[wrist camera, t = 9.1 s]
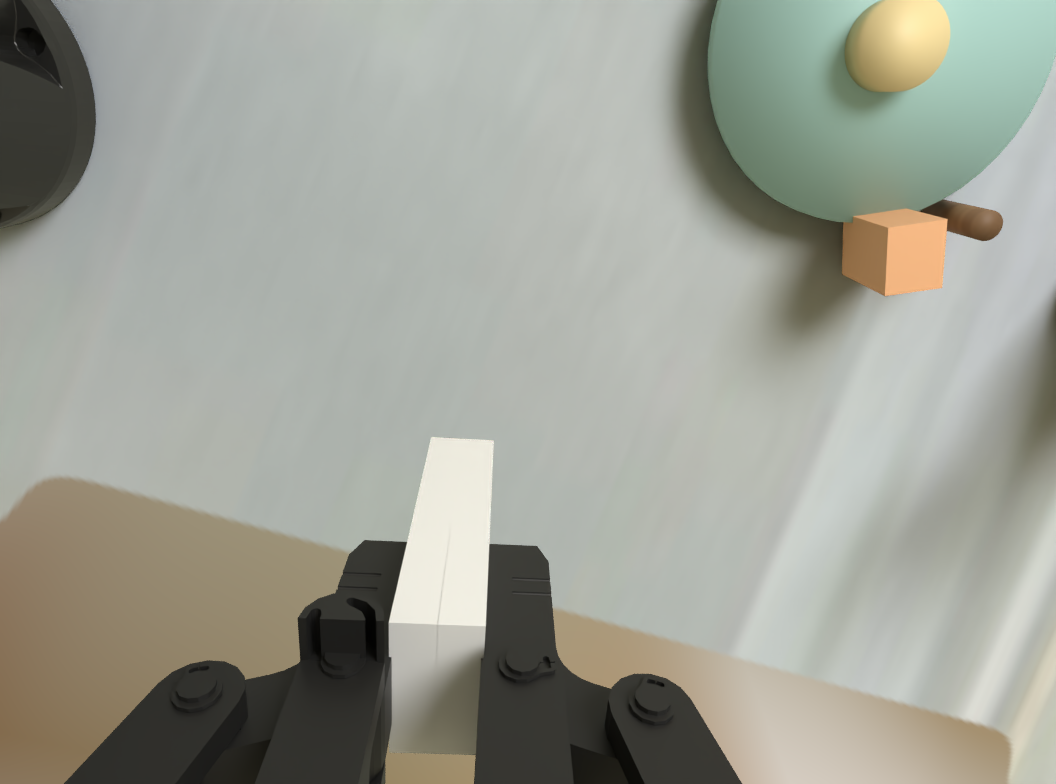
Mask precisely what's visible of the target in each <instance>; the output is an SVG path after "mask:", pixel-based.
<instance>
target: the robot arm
mask: <svg viewBox="0 0 1056 784" xmlns="http://www.w3.org/2000/svg"><path fill="white" fill-rule="evenodd" d="M95 125H96V112H95V100H94V93H93V88H92V83H91V79H90V75H89V72H88V68H87V65H86V63H85V60H84V57H83V55H82V52H81V50H80V47H79V45H78V43H77V41H76V39H75V37H74V35H73V33H72V32H71V30H70V28H69V26H68V25H67V23H66V21H65V20H64V18H63V17H62V15H61V14H60V12H59V11H58V9H57V8H56V7H55V5H54V4H53V3H52V1H51V0H0V228H3V227H8V226H12V225H16V224H20V223H24V222H27V221H30V220H32V219H35V218H37V217H39V216H41V215H43V214H45V213H47V212H48V211H50V210H51V209H53V208H54V207H56V206H57V205H58V204H59V203H61V202H62V201H63V200H64V199H65V198H66V197H67V196H68V195H69V194H70V192H71V191H72V190H73V189H74V187H75V186H76V185H77V183H78V182H79V180H80V178H81V176H82V175H83V173H84V171H85V168H86V166H87V164H88V161H89V158H90V155H91V151H92V147H93V142H94V136H95ZM493 445H494V440H475V439H455V438H436V437H431V441H430V445H429V450H428V454H427V458H426V463H425V467H424V471H423V476H422V480H421V484H420V489H419V493H418V497H417V502H416V506H415V511H414V515H413V519H412V524H411V528H410V532H409V537H408V541H407V542H393V541H370V540H364V541H363V542H362V543H361V544H360V545H359V546H358V547H357V548H356V549H355V550H354V551H353V552H351V553H350V554H349V556H348V559H347V562H346V565H345V568H344V570H343V575H342V577H341V579H340V582H339V585H338V590H336V593H335V594H331V595H328V596H325V597H322V598H319V599H317V600H316V601H314V602H313V603H311V604H310V605H308V606H307V607H305V609H304V610H303V611H302V613H301V614H300V616H299V617H298V630H299V644H300V662H299V663H298V664H297V665H295V666H293V667H291V668H288V669H286V670H285V671H281V672H278V673H274V674H271V675H266V676H261V677H256V678H252V679H247V680H245V677H244V675H243V674H242V673H241V672H240V670H239V669H238V668H237V667H236V666H233V665H231V664H229V663H227V662H222V661H203V662H198V663H193V664H189V665H187V666H185V667H182V668H180V669H178V670H176V671H174V672H172V673H171V674H169V675H168V676H167V677H166V678H164V679H163V680H162V681H161V682H160V683H158V684H157V685H156V686H155V687H154V688H153V689H152V691H151V692H150V693H149V694H148V695H147V696H146V697H145V698H144V699H143V700H142V701H141V702H140V703H139V704H138V705H137V706H136V708H135V709H134V710H133V711H132V712H131V713H130V714H129V715H128V716H127V717H126V718H125V719H124V720H123V722H121V724H120V725H119V726H118V727H117V728H116V729H115V730H114V731H113V732H112V733H111V734H110V735H109V736H108V737H107V739H105V740H104V742H103V743H102V744H101V745H100V746H99V747H98V748H97V749H96V750H95V751H94V752H93V753H92V754H91V755H90V756H89V757H88V759H87V760H86V761H85V762H84V763H83V764H82V765H81V766H80V767H79V768H78V769H77V770H76V771H75V773H73V775H72V776H71V777H70V778H69V779H68V780H67V781H66V782H65V783H64V784H385V758H386V753H387V747H388V742H389V752H393V753H427V754H428V753H429V754H462V755H463V754H464V755H476V761H475V778H474V784H742V783H741V781H740V780H739V778H738V776H737V775H736V773H735V771H734V770H733V768H732V766H731V765H730V763H729V761H728V760H727V758H726V757H725V755H724V753H723V752H722V750H721V748H720V747H719V745H718V743H717V742H716V740H715V739H714V737H713V735H712V733H711V732H710V730H709V729H708V727H707V725H706V724H705V722H704V720H703V719H702V717H701V715H700V714H699V712H698V710H697V709H696V707H695V705H694V704H693V702H692V700H691V699H690V698H689V697H688V695H687V694H686V693H685V692H684V691H683V690H682V689H681V687H679V686H677V685H676V684H674V683H673V682H671V681H669V680H668V679H666V678H663V677H659V676H655V675H652V674H633V675H630V676H627V677H624V678H621V679H620V680H619V681H618V682H617V683H616V684H615V685H614V686H613V687H612V689H609V688H606V687H603V686H600V685H596V684H593V683H590V682H588V681H586V680H583V679H581V678H579V677H577V676H576V675H575V674H573V673H571V672H570V671H569V670H568V669H567V668H566V667H565V666H564V665H563V663H562V662H561V660H560V658H559V657H558V654H557V650H556V643H555V631H554V620H553V609H552V597H551V586H550V575H549V563H548V560H547V559H546V558H545V556H544V555H543V554H542V552H541V551H540V550H539V548H538V547H537V546H522V545H500V544H489V539H490V515H491V492H492V468H493Z"/></svg>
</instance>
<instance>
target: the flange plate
mask: <svg viewBox="0 0 1056 784" xmlns="http://www.w3.org/2000/svg"><path fill="white" fill-rule="evenodd" d="M1055 55H1056V0H717V4H716V8H715V12H714V16H713V20H712V24H711V31H710V38H709V45H708V83H709V93H710V100H711V104H712V108H713V112H714V117H715V120H716V123H717V126H718V128H719V131H720V133H721V136H722V139H723V141H724V143H725V144H726V146H727V148H728V150H729V152H730V154H731V156H732V157H733V159H734V160H735V161H736V163H737V164H738V166H739V167H740V168H741V170H742V171H743V172H744V174H745V175H746V176H747V177H748V178H749V179H750V180H751V181H752V182H753V183H754V184H755V185H756V186H757V187H758V188H760V189H761V190H762V191H764V192H765V193H766V194H768V195H769V196H770V197H772V198H773V199H774V200H776V201H778V202H780V203H782V204H784V205H786V206H788V207H790V208H791V209H794V210H797V211H799V212H802V213H805V214H808V215H811V216H814V217H817V218H820V219H825V220H830V221H836V222H843V255H842V274H843V275H845V276H846V277H848V278H850V279H852V280H854V281H856V282H858V283H860V284H862V285H864V286H866V287H868V288H870V289H872V290H874V291H876V292H878V293H880V294H882V295H884V296H889V295H896V294H903V293H910V292H917V291H924V290H930V289H937V288H942V282H943V269H944V257H945V244H946V232H947V220H948V219H945V218H941V217H937V216H934V215H930V214H926V213H922V212H918V211H919V210H922V209H924V208H926V207H928V206H930V205H932V204H934V203H936V202H938V201H941V200H942V199H944V198H946V197H947V196H949V195H950V194H952V193H954V192H955V191H957V190H959V189H960V188H962V187H963V186H964V185H966V184H967V183H968V182H969V181H971V180H972V179H973V178H974V177H976V176H977V175H978V174H980V173H981V172H982V171H983V170H984V169H985V168H986V167H987V166H988V165H989V164H990V163H991V162H992V161H993V160H994V159H995V158H996V157H997V156H998V155H999V154H1000V153H1001V152H1002V151H1003V149H1004V148H1005V147H1006V146H1007V145H1008V144H1009V142H1010V141H1011V140H1012V139H1013V138H1014V136H1015V135H1016V134H1017V132H1018V131H1019V129H1020V128H1021V126H1022V125H1023V123H1024V122H1025V120H1026V119H1027V118H1028V116H1029V114H1030V113H1031V111H1032V109H1033V107H1034V105H1035V103H1036V102H1037V100H1038V98H1039V96H1040V94H1041V92H1042V90H1043V88H1044V85H1045V83H1046V80H1047V78H1048V76H1049V73H1050V71H1051V68H1052V65H1053V62H1054V58H1055Z"/></svg>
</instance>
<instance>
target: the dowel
mask: <svg viewBox="0 0 1056 784" xmlns="http://www.w3.org/2000/svg"><path fill="white" fill-rule="evenodd" d="M922 213H926V214H930V215H934V216H937V217H941V218H945V219H948V220H947V231H949V232H953V233H956V234H960V235H963V236H967V237H970V238H974V239H977V240H981V241H987V240H990V239H992V238H994V237H995V236H996V235H998V233H999V232H1000V230H1001V228H1002V225H1003V219H1002V216H1001V215H1000V214H999V213H998V212H996V211H993V210H988V209H984V208H979V207H975V206H970V205H966V204H961V203H956V202H952V201H947V200H943V199H942V200H941V201H938V202H936V203H934V204H932V205H930V206H928V207H926V208H924V209H923V211H922Z"/></svg>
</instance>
